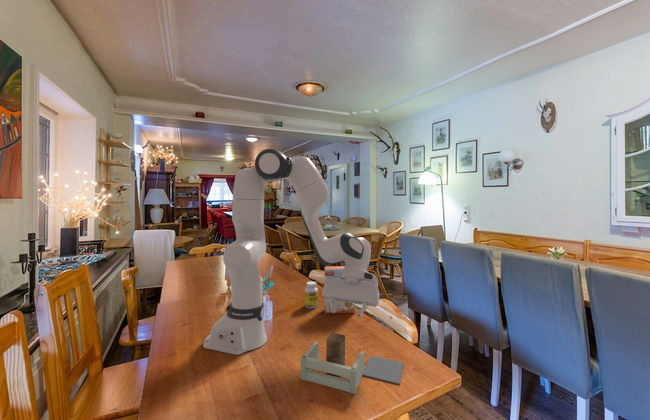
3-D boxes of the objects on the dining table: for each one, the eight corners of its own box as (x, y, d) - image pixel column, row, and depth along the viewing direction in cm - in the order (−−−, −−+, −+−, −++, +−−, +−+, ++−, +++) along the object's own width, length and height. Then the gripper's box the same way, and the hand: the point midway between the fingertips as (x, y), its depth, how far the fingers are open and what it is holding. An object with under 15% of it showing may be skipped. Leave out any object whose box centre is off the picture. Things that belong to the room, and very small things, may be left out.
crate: (300, 379, 85) (300, 357, 85) (314, 360, 95) (314, 341, 94) (355, 394, 79) (355, 371, 79) (364, 372, 89) (364, 352, 88)
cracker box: (353, 308, 138) (353, 265, 137) (355, 313, 132) (355, 268, 131) (324, 308, 138) (324, 265, 136) (324, 313, 131) (324, 268, 130)
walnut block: (326, 374, 88) (326, 339, 87) (331, 366, 92) (331, 332, 91) (340, 377, 86) (340, 342, 85) (344, 369, 90) (345, 335, 90)
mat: (362, 375, 87) (362, 374, 87) (370, 356, 97) (370, 355, 97) (399, 384, 83) (399, 383, 83) (404, 364, 93) (404, 362, 93)
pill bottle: (306, 309, 136) (306, 285, 136) (303, 304, 143) (303, 281, 142) (319, 308, 138) (319, 284, 137) (316, 303, 144) (316, 280, 144)
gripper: (325, 270, 107) (315, 305, 99) (380, 276, 100) (374, 314, 91) (329, 278, 112) (320, 313, 103) (382, 285, 104) (376, 322, 96)
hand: (345, 314), depth 97 cm, fingers open, 8 cm apart
